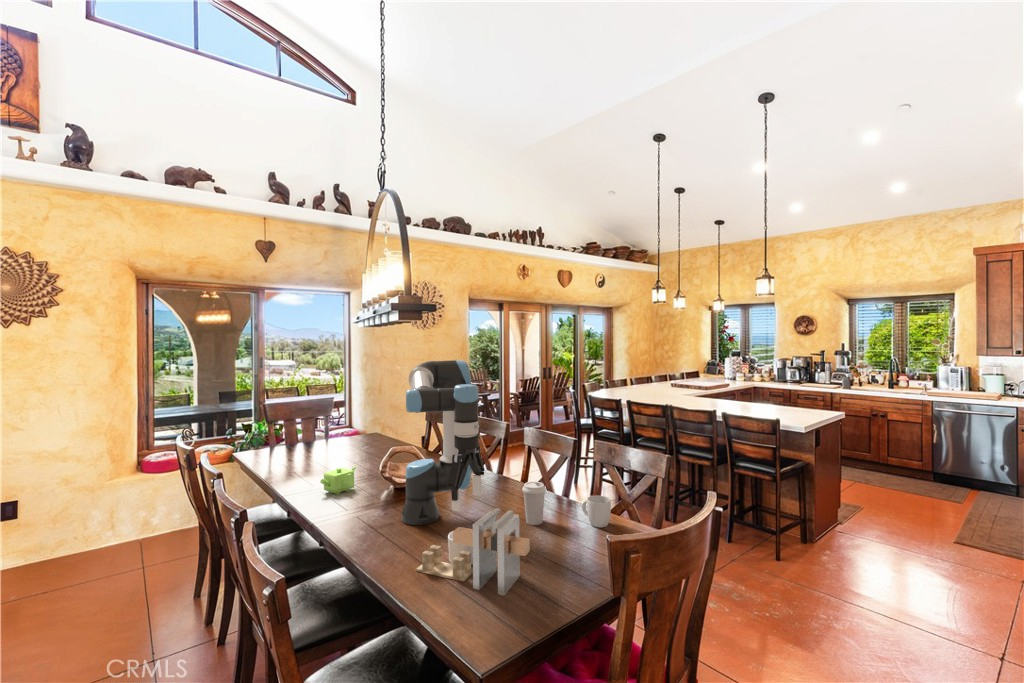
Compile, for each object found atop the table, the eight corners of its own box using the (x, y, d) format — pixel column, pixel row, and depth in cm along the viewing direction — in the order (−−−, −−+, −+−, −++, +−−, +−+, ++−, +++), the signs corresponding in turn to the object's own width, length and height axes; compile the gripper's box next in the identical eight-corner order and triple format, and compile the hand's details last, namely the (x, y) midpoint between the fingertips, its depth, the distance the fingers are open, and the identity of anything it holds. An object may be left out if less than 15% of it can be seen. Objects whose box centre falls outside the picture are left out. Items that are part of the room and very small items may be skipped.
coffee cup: (544, 527, 181) (544, 489, 181) (520, 525, 183) (520, 487, 183) (547, 518, 191) (547, 481, 191) (524, 516, 193) (524, 480, 193)
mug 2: (615, 524, 183) (615, 499, 183) (601, 531, 178) (600, 505, 177) (590, 515, 193) (589, 491, 193) (575, 521, 187) (575, 496, 187)
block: (453, 543, 145) (452, 531, 145) (458, 538, 148) (458, 526, 148) (525, 556, 136) (525, 543, 136) (529, 550, 139) (529, 538, 139)
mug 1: (466, 569, 149) (466, 544, 149) (441, 561, 155) (441, 537, 155) (490, 553, 160) (490, 529, 160) (466, 546, 166) (466, 523, 166)
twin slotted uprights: (473, 588, 138) (472, 521, 137) (490, 569, 149) (490, 507, 149) (504, 595, 134) (503, 526, 134) (519, 575, 145) (519, 511, 145)
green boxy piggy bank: (357, 485, 235) (357, 463, 235) (353, 495, 221) (353, 471, 221) (326, 487, 232) (325, 465, 232) (320, 497, 218) (319, 473, 218)
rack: (416, 571, 148) (416, 552, 148) (428, 561, 155) (428, 543, 155) (463, 581, 142) (463, 561, 142) (474, 570, 148) (474, 552, 148)
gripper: (457, 444, 132) (457, 519, 132) (494, 427, 155) (494, 491, 155) (434, 442, 135) (435, 515, 135) (474, 426, 158) (474, 488, 158)
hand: (467, 502), depth 145 cm, fingers open, 13 cm apart
